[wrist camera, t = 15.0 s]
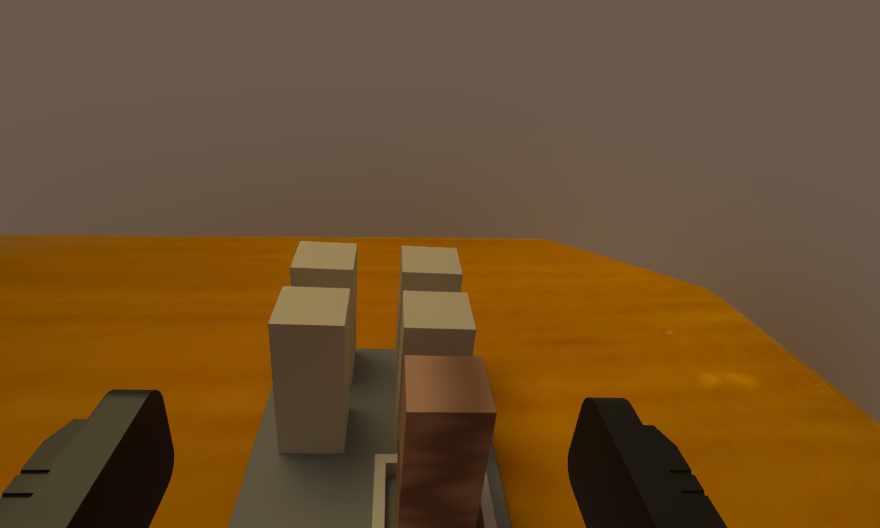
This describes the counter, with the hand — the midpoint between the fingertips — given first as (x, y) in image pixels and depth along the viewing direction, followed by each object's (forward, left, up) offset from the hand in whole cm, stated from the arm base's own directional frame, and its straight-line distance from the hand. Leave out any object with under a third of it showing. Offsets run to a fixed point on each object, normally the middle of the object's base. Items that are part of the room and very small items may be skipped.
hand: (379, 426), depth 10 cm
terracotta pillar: (+4, +16, -25) cm, 30 cm away
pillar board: (0, +23, -26) cm, 35 cm away
